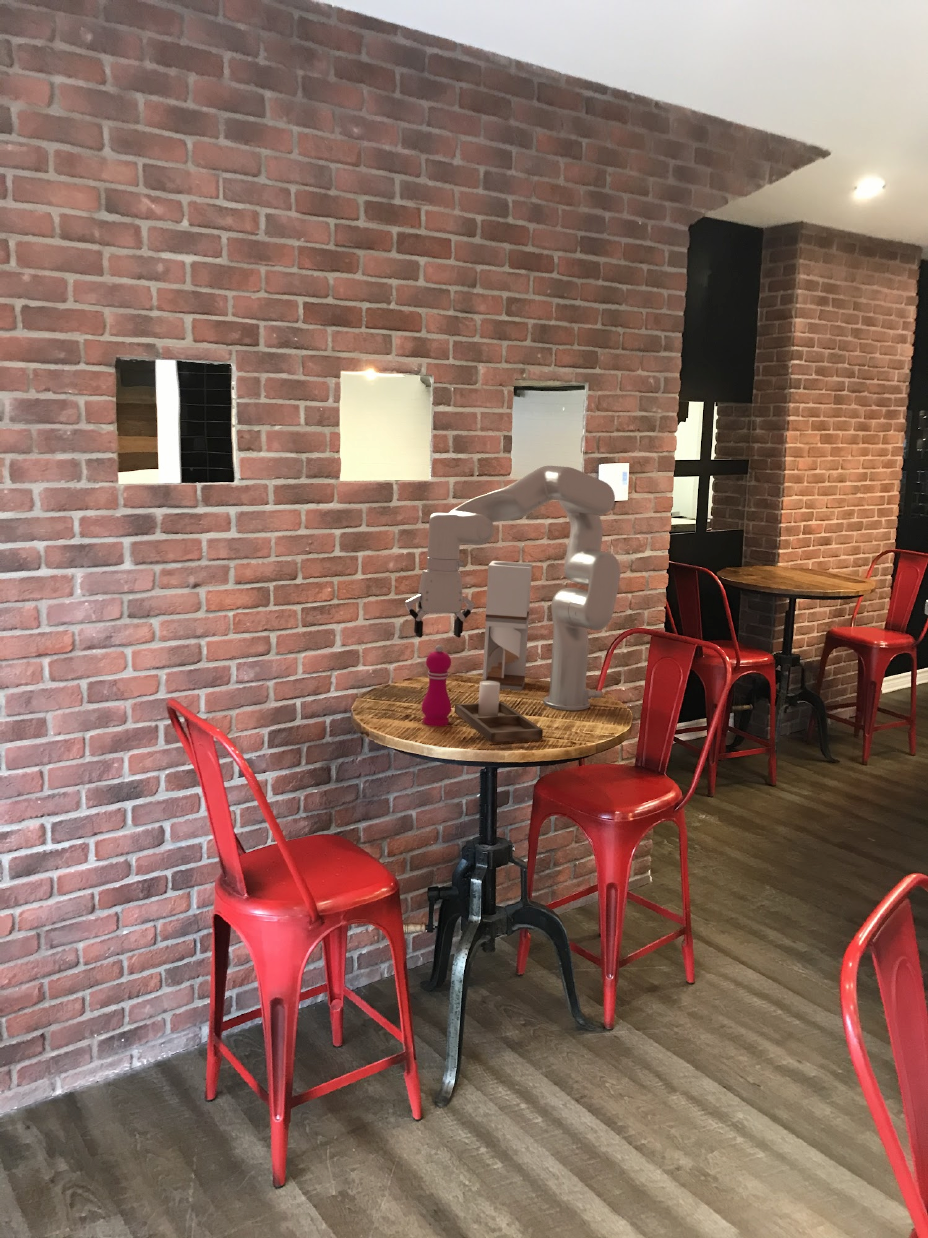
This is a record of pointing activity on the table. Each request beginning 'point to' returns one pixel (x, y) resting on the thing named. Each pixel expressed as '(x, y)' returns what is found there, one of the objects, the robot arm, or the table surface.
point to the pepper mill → (437, 689)
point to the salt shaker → (488, 698)
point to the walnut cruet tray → (499, 724)
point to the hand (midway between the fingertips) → (438, 636)
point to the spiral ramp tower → (507, 623)
